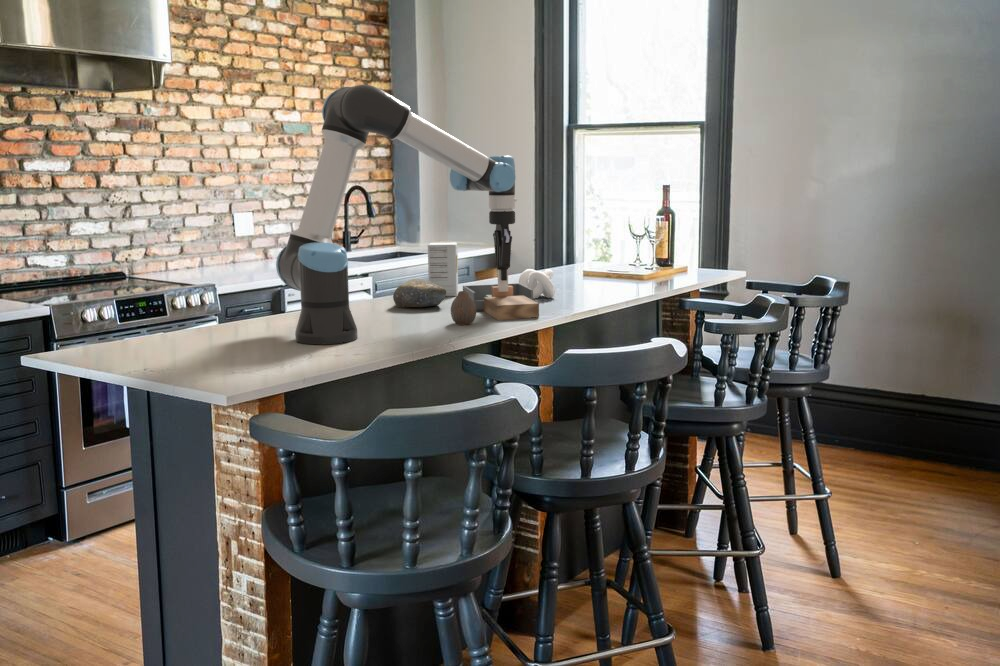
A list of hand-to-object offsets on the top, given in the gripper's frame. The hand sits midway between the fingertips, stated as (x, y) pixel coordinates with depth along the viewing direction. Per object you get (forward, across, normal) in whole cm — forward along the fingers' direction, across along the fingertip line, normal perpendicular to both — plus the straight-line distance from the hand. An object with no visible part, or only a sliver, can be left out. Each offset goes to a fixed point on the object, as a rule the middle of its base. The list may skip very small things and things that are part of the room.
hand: (503, 291), depth 268 cm
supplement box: (+6, +36, +11) cm, 38 cm away
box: (+5, +7, 0) cm, 9 cm away
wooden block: (+5, -9, 0) cm, 10 cm away
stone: (+6, +13, +23) cm, 27 cm away
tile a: (+2, +1, 0) cm, 2 cm away
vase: (+6, -20, +16) cm, 26 cm away
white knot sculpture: (+6, +19, -17) cm, 26 cm away
